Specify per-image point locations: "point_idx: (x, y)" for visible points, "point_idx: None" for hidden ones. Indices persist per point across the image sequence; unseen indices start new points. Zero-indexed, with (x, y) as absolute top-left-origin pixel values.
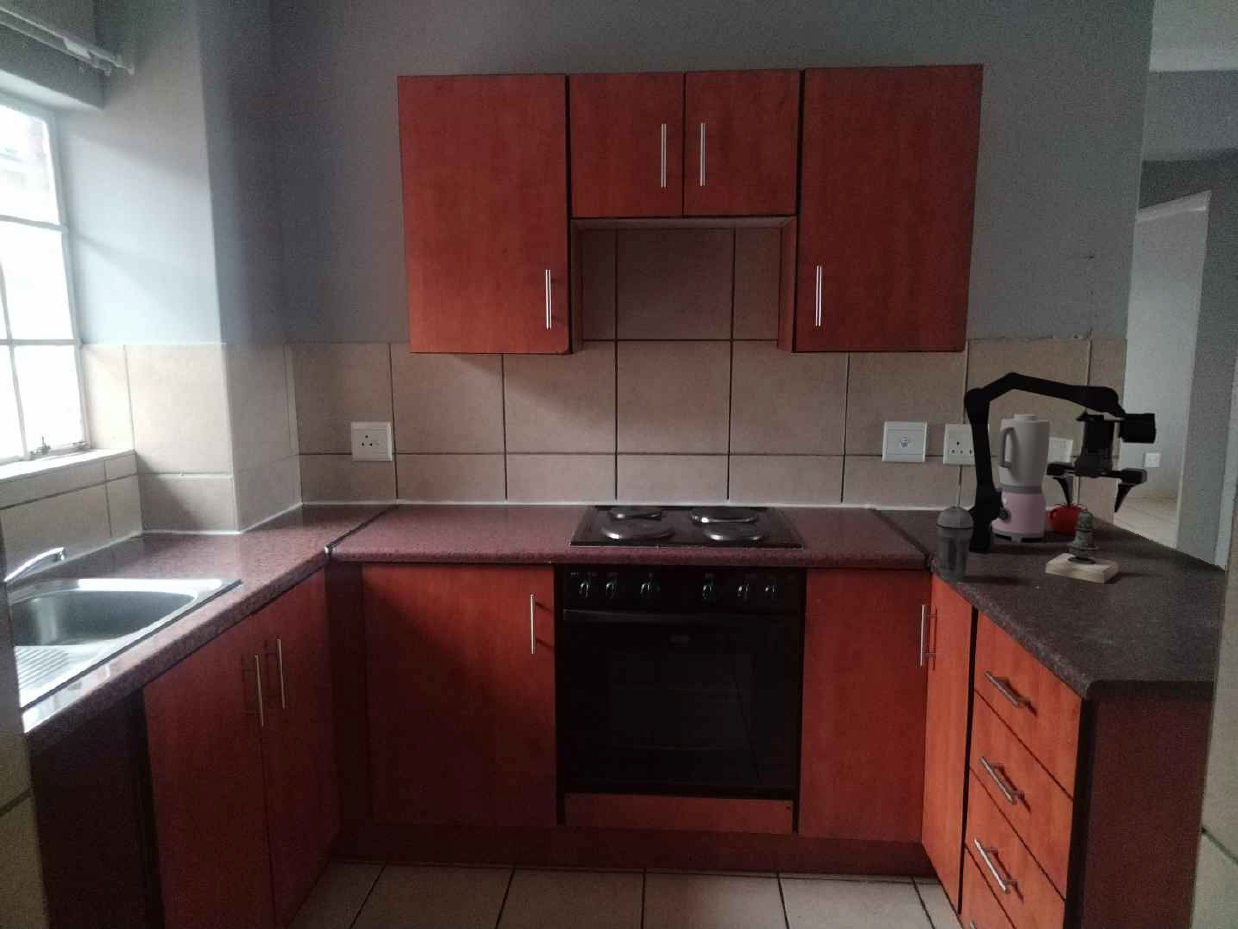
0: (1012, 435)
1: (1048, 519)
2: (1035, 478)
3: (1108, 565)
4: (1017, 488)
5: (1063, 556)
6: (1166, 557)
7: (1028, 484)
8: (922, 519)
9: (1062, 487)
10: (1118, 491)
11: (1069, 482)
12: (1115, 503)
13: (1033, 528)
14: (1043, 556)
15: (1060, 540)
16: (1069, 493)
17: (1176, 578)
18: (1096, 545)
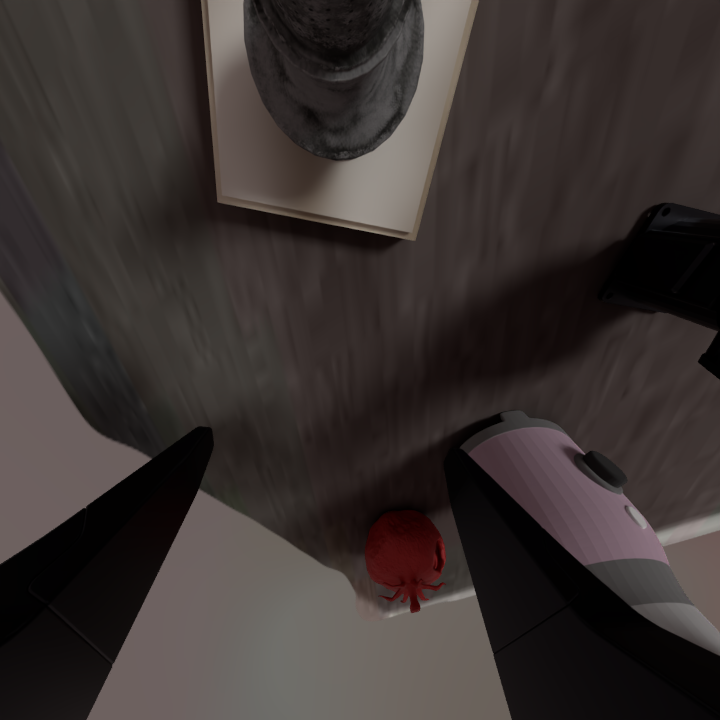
0: None
1: (442, 540)
2: None
3: (221, 72)
4: (643, 587)
5: (414, 156)
6: None
7: None
8: (678, 483)
9: (595, 580)
10: (31, 607)
11: (563, 669)
12: (167, 474)
13: (489, 453)
14: (458, 296)
15: (412, 468)
16: (502, 531)
17: (75, 246)
18: (269, 105)
